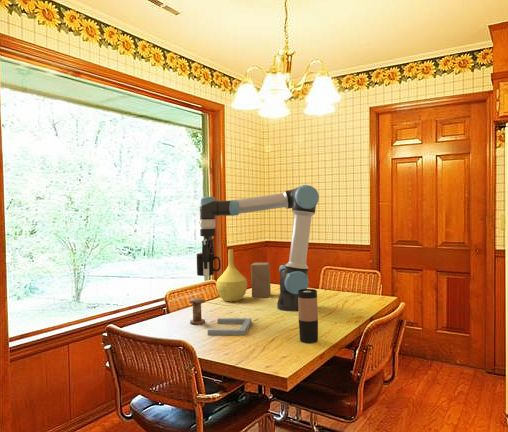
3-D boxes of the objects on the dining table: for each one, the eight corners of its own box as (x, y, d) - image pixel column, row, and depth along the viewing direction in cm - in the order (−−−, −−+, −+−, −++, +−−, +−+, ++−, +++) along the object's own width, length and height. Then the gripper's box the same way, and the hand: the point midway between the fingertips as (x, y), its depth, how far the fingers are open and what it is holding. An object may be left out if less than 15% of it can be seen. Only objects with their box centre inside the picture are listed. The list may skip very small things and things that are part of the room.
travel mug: (297, 338, 170) (296, 289, 170) (316, 337, 171) (314, 288, 171) (301, 344, 163) (299, 292, 162) (320, 343, 163) (319, 291, 163)
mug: (217, 276, 201) (217, 254, 201) (194, 275, 204) (194, 254, 204) (223, 273, 209) (222, 252, 209) (200, 273, 212) (200, 252, 212)
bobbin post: (206, 320, 202) (205, 298, 202) (202, 324, 195) (201, 301, 195) (192, 320, 203) (191, 298, 203) (188, 324, 196) (187, 301, 196)
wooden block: (268, 297, 250) (267, 264, 250) (251, 297, 252) (250, 264, 252) (270, 294, 260) (269, 262, 260) (255, 294, 262) (254, 262, 262)
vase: (253, 298, 250) (252, 248, 250) (236, 304, 235) (234, 251, 235) (228, 295, 260) (227, 247, 260) (210, 301, 245) (208, 250, 244)
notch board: (251, 322, 196) (251, 318, 196) (244, 335, 177) (244, 330, 177) (218, 322, 199) (218, 318, 199) (207, 334, 179) (207, 330, 179)
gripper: (206, 227, 217) (206, 270, 218) (194, 229, 196) (195, 277, 197) (220, 227, 216) (221, 271, 216) (209, 229, 195) (210, 277, 196)
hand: (208, 274), depth 207 cm, fingers closed on mug, 8 cm apart
